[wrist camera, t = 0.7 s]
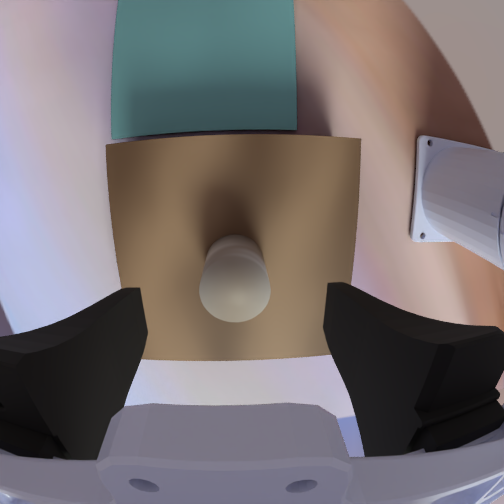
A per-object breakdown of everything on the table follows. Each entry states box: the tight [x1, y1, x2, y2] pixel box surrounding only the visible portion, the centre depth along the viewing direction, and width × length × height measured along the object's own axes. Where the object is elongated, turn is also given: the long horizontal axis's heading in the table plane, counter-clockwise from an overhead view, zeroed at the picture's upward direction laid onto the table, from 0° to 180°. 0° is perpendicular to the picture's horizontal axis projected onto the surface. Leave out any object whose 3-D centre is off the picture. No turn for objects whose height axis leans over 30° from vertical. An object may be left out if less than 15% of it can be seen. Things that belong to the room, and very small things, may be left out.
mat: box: [111, 0, 297, 139], centre depth 16 cm, size 12×12×1 cm
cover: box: [106, 134, 361, 361], centre depth 17 cm, size 13×13×8 cm
